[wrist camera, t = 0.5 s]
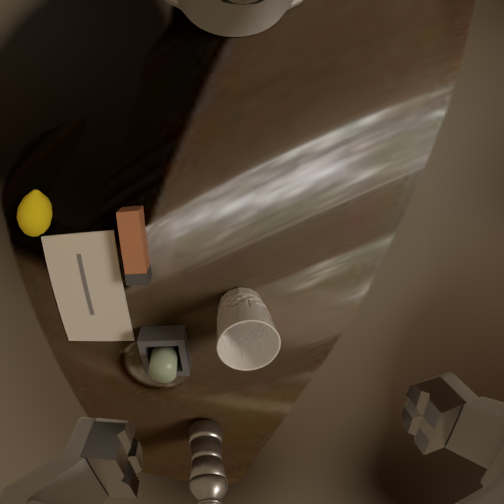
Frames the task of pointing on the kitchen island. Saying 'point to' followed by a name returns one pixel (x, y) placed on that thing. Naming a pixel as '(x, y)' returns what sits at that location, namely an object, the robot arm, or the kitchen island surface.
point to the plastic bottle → (207, 462)
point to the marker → (134, 245)
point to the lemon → (34, 213)
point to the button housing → (165, 337)
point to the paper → (88, 285)
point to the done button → (163, 363)
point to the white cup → (245, 331)
